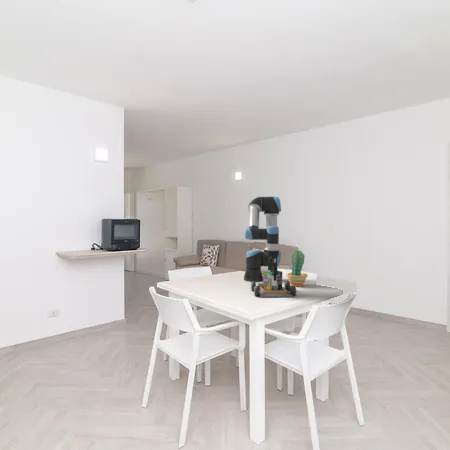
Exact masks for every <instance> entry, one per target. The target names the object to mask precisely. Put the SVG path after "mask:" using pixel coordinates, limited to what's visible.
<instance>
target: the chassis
mask: <svg viewBox="0 0 450 450" xmlns="http://www.w3.org/2000/svg"><path fill="white" fill-rule="evenodd" d="M256 282H257V281H250V289H251V292H253V293H254V294H253V295H254V297H259V298H260V299H266V298H267V299H269V298H271V299H272V298H273V299H274V298H275V299H276V298H277V297H281V298H294V296H296V295H297V288H296V287H295V286H291V285H290V284H291V283H290V282H289V280H286V281H284V283H283V284H284V285H283V286H282V289H280V290H274V291H271V290H267V289H263V282H257V283H256Z"/></svg>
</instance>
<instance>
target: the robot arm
mask: <svg viewBox="0 0 450 450" xmlns="http://www.w3.org/2000/svg"><path fill="white" fill-rule="evenodd" d="M281 205H282V204H281V199H280V197H279V196H257V197H254V198H253V199H252V200H251V201H250V202H249V204H248V208H247V211H248V227H247V228H245V229H244V239H245V240H251V241H255V240H256V241H258V240H260V241H261V240H262V241H263V240H265V247H264V248H263V251H262V250H261V249H251V250H248V251H246V254H245V271H244V275H243V281H245V282H263V271H262V267H267V270H271V267H272V271H273V274H272V286H277V275H278V271H279V270H278V267H280V264H281V257H282V256H281V255H282V252H281V251H280V249H279V248H280V244H279V241H280V240H279V239H280V237H279V236H280V235H279V233H280V228H279V226H278V216H279V215H280V213H281V212H282V206H281ZM260 213H263V215H264V216H265V228H260Z"/></svg>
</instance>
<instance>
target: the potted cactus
mask: <svg viewBox="0 0 450 450" xmlns="http://www.w3.org/2000/svg"><path fill="white" fill-rule="evenodd" d="M290 257H291V259H290V261H291V265H292V266H291V272H286V273H285V276H286V277H287V281H289V282H290V286H295V287H298V288H299V287H303V286H304V284H305V282H306V280H307V277H308V276H309V275H308V274H307V273H303V272H302V269H303V265H304V264H305V257H306V256H305V254H304V253H303V252H302V250H297V249H296V250H294V251H293V252H292V254H291V256H290Z"/></svg>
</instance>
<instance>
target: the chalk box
mask: <svg viewBox="0 0 450 450" xmlns="http://www.w3.org/2000/svg"><path fill="white" fill-rule="evenodd" d="M272 274H273V271H272V267H271V270H268V269H267V270H264V271H262V275H263V280H262V283H263V289H267V290H271V291H274V290H280V289H282V287H283V271H281V270H278V275H277V286H272Z"/></svg>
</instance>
